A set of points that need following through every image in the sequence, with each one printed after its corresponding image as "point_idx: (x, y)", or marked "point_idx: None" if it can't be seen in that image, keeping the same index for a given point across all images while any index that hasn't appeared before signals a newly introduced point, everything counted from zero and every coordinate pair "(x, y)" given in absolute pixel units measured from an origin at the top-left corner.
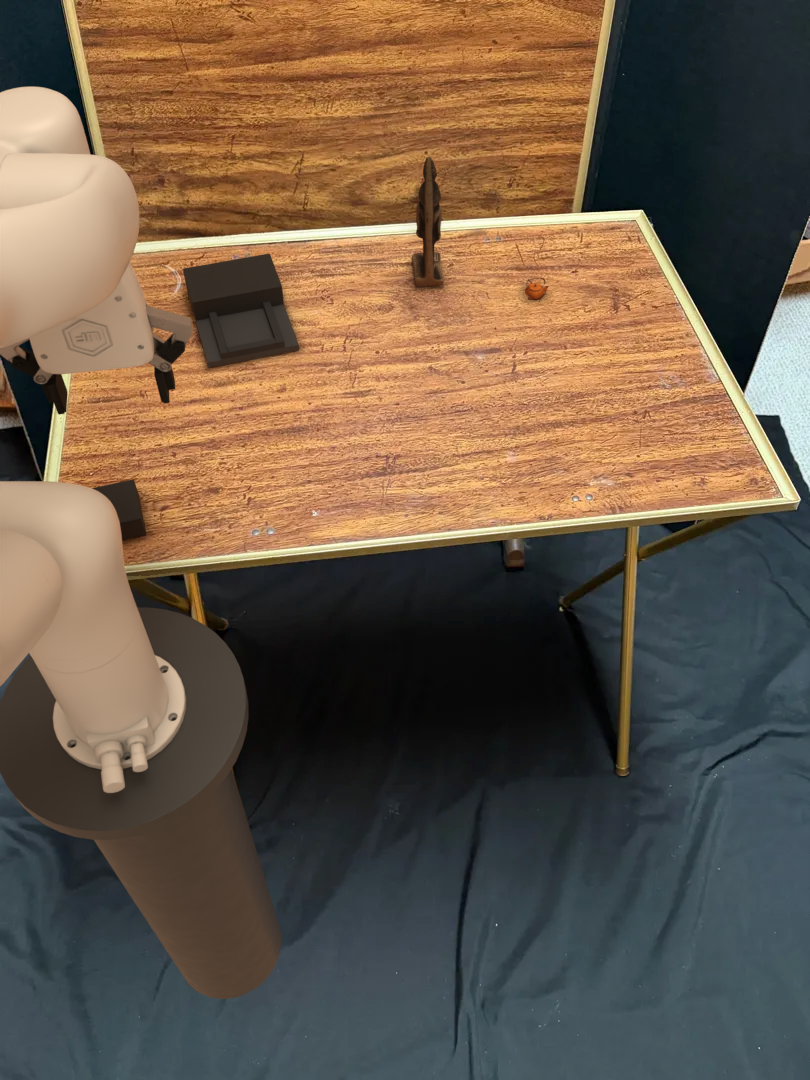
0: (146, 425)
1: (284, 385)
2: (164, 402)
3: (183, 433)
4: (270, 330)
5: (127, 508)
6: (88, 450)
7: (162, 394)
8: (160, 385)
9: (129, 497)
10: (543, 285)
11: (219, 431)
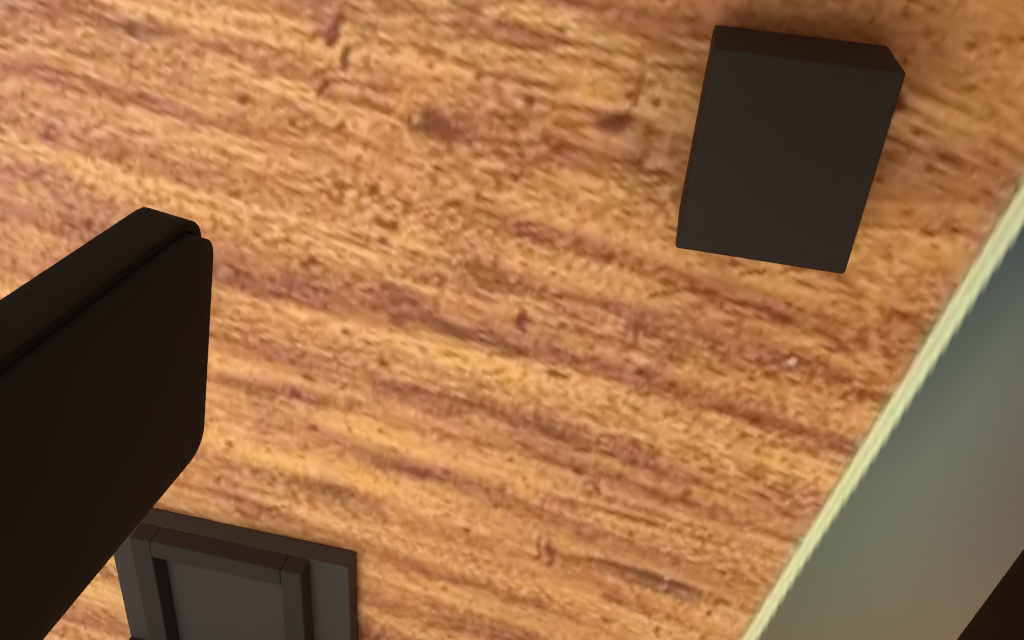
0: (570, 455)
1: None
2: (177, 221)
3: (474, 383)
4: (172, 584)
5: (746, 121)
6: (765, 446)
7: (112, 263)
8: (25, 326)
9: (720, 170)
10: None
11: (371, 344)
